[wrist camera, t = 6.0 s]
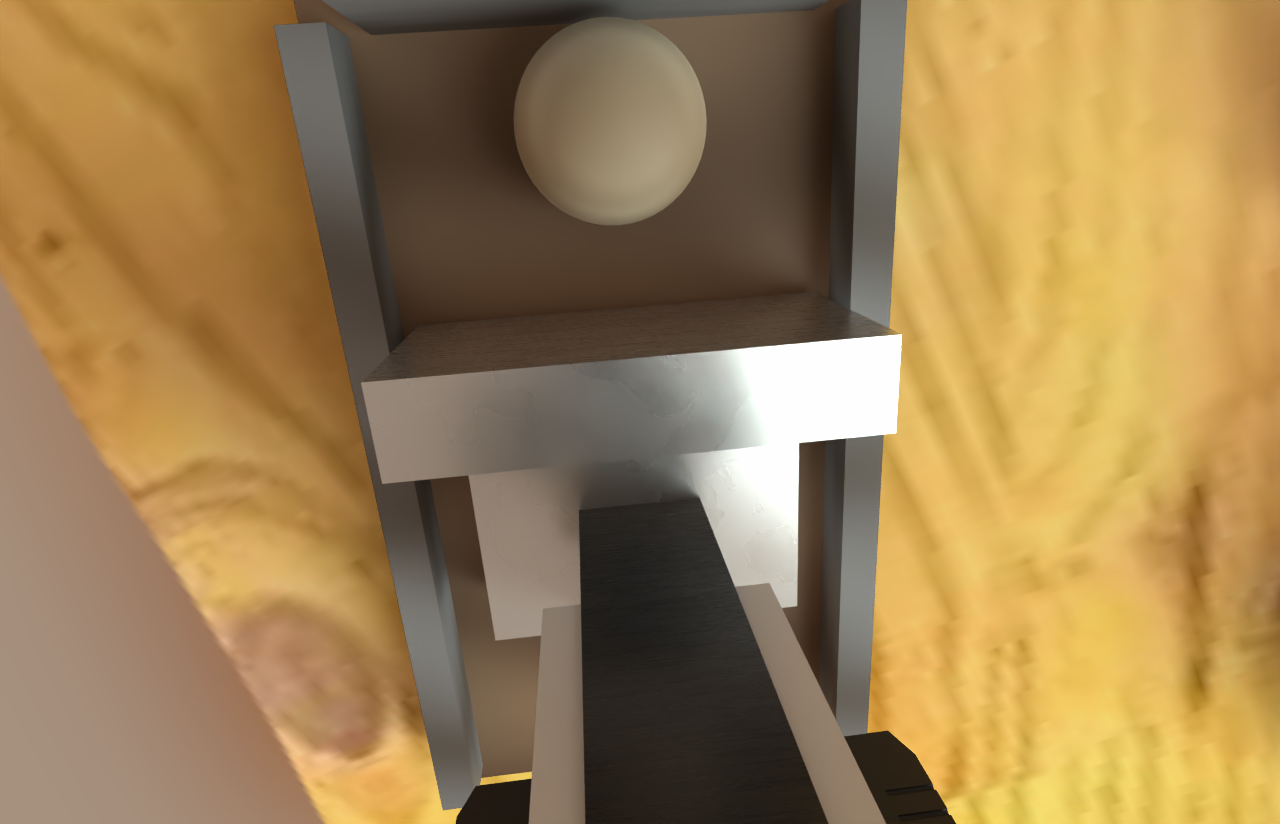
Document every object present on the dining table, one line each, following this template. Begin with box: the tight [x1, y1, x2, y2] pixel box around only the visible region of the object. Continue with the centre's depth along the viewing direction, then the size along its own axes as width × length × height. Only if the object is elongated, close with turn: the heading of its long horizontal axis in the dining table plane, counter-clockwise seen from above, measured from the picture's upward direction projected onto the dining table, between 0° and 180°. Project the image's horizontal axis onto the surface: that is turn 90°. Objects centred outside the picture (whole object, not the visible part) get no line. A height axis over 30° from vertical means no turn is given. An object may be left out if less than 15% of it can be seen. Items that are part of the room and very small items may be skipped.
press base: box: [274, 0, 907, 810], centre depth 16 cm, size 25×13×8 cm, turn 4°
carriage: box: [361, 292, 902, 824], centre depth 12 cm, size 8×10×15 cm
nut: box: [514, 17, 707, 226], centre depth 14 cm, size 4×4×4 cm
